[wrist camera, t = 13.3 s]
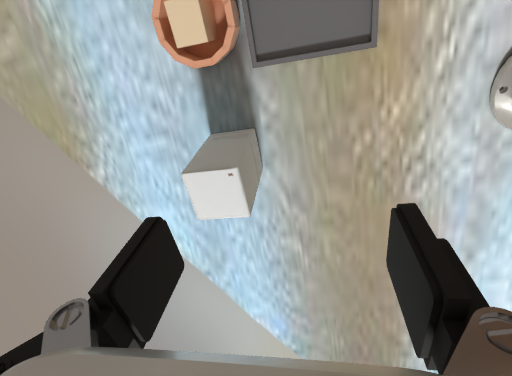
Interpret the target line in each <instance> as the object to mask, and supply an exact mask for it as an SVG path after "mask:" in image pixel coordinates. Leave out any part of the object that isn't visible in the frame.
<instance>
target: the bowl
mask: <svg viewBox="0 0 512 376" xmlns="http://www.w3.org/2000/svg"><path fill="white" fill-rule="evenodd" d="M164 1H168V0H154V3H153V12H152V20H153V23H154V26H155V30H156V33H157V36H158V39H159V42H160V44H161V45H162V46H163V47H164V48H165V49H166V50H167V52H168V53H169V54H170V55H171V56H172V57H173V59H174V60H175V61H178V62H180V63H182V64H185V65H187V66H190V67H192V68H200V67H206V66H211V65H215V64H217V63H218V62H220V61H221V60H222V59H223V58H224V57H226V56H227V55H228V54H229V53H230V52H231V50H232V49H233V48H234V47H235V44H236V42H237V39H238V35H239V30H240V17H239V11H238V7H237V4H236V0H211V1H212V6H213V10H214V15H215V19H216V24H217V29H218V33H219V38H220V39H217V40H213V41H210V42H206V43H201V44H196V45H191V46H186V47H181V48H177V46H176V42H175V39H174V35H173V32H172V29H171V25H170V22H169V19H168V15H167V12H166V8H165V5H164Z"/></svg>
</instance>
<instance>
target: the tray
mask: <svg viewBox="0 0 512 376" xmlns="http://www.w3.org/2000/svg"><path fill="white" fill-rule="evenodd" d="M242 6H243V12H244V18H245V24H246V29H247V35H248V41H249V47H250V53H251V59H252V65H253V68H257V67H263V66H269V65H275V64H280V63H286V62H292V61H298V60H304V59H310V58H315V57H321V56H327V55H333V54H339V53H345V52H350V51H356V50H362V49H368V48H374V47H377V28H378V6H379V0H242Z"/></svg>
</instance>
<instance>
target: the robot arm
mask: <svg viewBox="0 0 512 376" xmlns="http://www.w3.org/2000/svg"><path fill="white" fill-rule="evenodd" d="M500 88H501V89H500ZM490 106H491V110H492V113H493V115H494V117H495V118H496V119H497V121H498V122H499V123H500V124H502V125H503V126H505V127H506V128H508V129H510V130H512V55H511V56H510V57H509V58H508V60H507V61H506V62H505V64H504V65H503V66H502V68H501V69H500V71H499V72H498V74H497V76H496V78H495V80H494V83H493V86H492V89H491V94H490ZM386 261H387V268H388V271H389V274H390V277H391V280H392V283H393V286H394V289H395V292H396V295H397V298H398V301H399V304H400V307H401V310H402V313H403V317H404V320H405V323H406V326H407V329H408V332H409V335H410V338H411V341H412V344H413V347H414V350H415V353H416V355H417V357H418V358H423V359H424V362H425V364H426V367H427V370H437V371H438V373H439V374H436V373H431V372H426V371H421V370H414V369H406V368H399V367H390V366H379V365H368V364H357V363H345V362H332V361H318V360H304V359H290V358H275V357H262V356H246V355H231V354H216V353H201V352H186V351H168V350H152V349H143V348H144V346H145V344H146V342H148V341H149V340H150V339H151V337H152V335H153V333H154V331H155V329H156V327H157V325H158V323H159V321H160V318H161V316H162V314H163V312H164V310H165V308H166V306H167V304H168V302H169V299H170V297H171V295H172V293H173V291H174V289H175V287H176V285H177V283H178V280H179V278H180V276H181V274H182V271H183V270H184V261H183V259H182V256H181V254H180V252H179V250H178V247H177V245H176V243H175V240H174V238H173V236H172V234H171V231H170V229H169V227H168V224H167V222H166V221H165V220H163V219H162V218H161V217H148V218H146V219H145V220H144V222H143V223H142V224H141V225H140V227H139V228H138V229H137V231H136V232H135V233H134V234H133V236H132V237H131V238H130V240H129V241H128V243H126V245H125V246H124V247H123V249H122V250H121V251H120V253H119V254H118V255H117V256H116V258H115V259H114V260H113V261H112V263H111V264H110V265H109V267H108V268H107V269H106V270H105V272H104V273H103V274H102V276H101V277H100V278H99V279H98V281H97V282H96V283H95V285H94V286H93V287H92V288H91V290H90V291H89V292H88V294H89V295H90V299H89V300H88V301H87V300H86V299H83V298H78V299H73V300H71V301H69V302H66V303H65V304H63V305H62V306H60V307H59V308H58V309H56V310H55V311H54V312H53V313H52V314H51V315H50V317H49V318H48V320H47V321H46V324H45V327H44V332H42V333H40V334H39V335H37V336H35V337H33V338H32V339H30V340H28V341H27V342H25V343H23V344H21V345H20V346H18V347H16V348H14V349H13V350H11V351H9V352H8V353H6V354H4V355H2V356H1V357H0V376H512V312H511V311H508V310H506V309H502V308H497V307H490V306H489V304H488V303H487V301H486V300H485V298H484V297H483V295H482V294H481V292H480V290H479V289H478V287H477V286H476V284H475V283H474V281H473V279H472V278H471V276H470V275H469V273H468V272H467V270H466V269H465V267H464V265H463V264H462V262H461V261H460V259H459V258H458V256H457V254H456V253H455V251H454V250H453V248H452V247H451V245H450V243H449V242H448V241H447V240H446V239H444V238H443V239H437V238H436V236H435V235H434V233H433V231H432V230H431V228H430V226H429V225H428V223H427V221H426V220H425V218H424V216H423V215H422V213H421V211H420V210H419V208H418V206H417V205H416V204H415V203H408V204H398V205H397V208H392V210H391V218H390V228H389V239H388V249H387V259H386Z"/></svg>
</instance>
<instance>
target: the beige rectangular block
mask: <svg viewBox="0 0 512 376" xmlns="http://www.w3.org/2000/svg"><path fill="white" fill-rule="evenodd" d="M164 5H165V8H166V12H167V15H168V19H169V22H170V25H171V29H172V32H173V35H174V39H175V42H176V46H177V48H181V47H186V46H191V45H196V44H201V43H206V42H210V41H213V40H217V39H220V38H219V33H218V29H217V24H216V19H215V15H214V10H213V6H212V1H211V0H168V1H164Z"/></svg>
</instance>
